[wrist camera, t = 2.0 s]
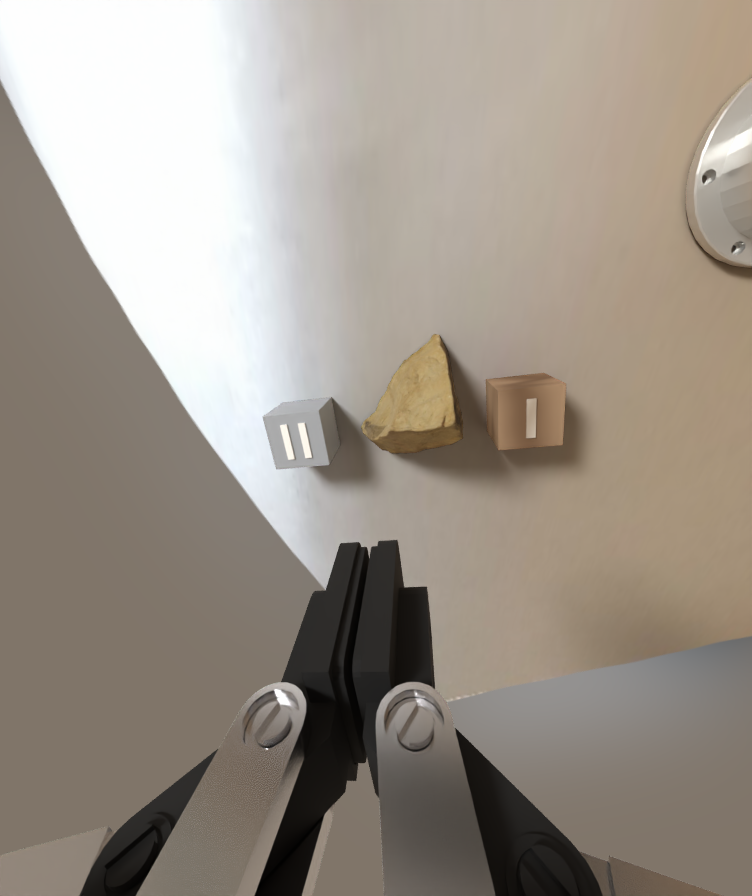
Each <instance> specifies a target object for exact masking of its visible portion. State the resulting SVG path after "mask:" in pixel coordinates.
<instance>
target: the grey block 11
mask: <svg viewBox="0 0 752 896" xmlns="http://www.w3.org/2000/svg"><path fill="white" fill-rule="evenodd" d="M263 420H264V424H265V428H266V432H267V436H268V439H269V443H270V447H271V451H272V455H273V459H274V462H275V466H276V469H288V468H299V467H311V466H323V465H330V463H331V461H332V459H333V458H334V456H335V454H336V452H337V450H338V448H339V447H340V440H339V435H338V430H337V424H336V419H335V413H334V408H333V402H332V397H328V398H319V399H310V400H301V401H293V402H284V403H281V404H280V405H279V406H277V407H276V408H274V409H273V410H271V411H270V412H269V413H267V414H266V415H264V416H263Z"/></svg>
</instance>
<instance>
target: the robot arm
mask: <svg viewBox="0 0 752 896" xmlns="http://www.w3.org/2000/svg"><path fill="white" fill-rule="evenodd" d="M686 211H687V217H688V222H689V226H690V228H691V230H692V232H693V235H694V237H695V239H696V240H697V241H698V243H699V244H700V245H701V247H702V248H703V249H704V250H705V251H706V252H707V253H709V254H710V255H711V256H713V257H714V258H715V259H717V260H719V261H722V262H724V263H727V264H729V265H733V266H740V267H746V268H749V267H752V78H750V79H749V80H748V81H747V82H746V83H744V84H743V85H742V86H741V87H740V88H739V89H738V90H737V91H736V92H735V93H734V94H733V95H732V97H731V98H730V99H729V100H728V101H727V102H726V103H725V104H724V105H723V107H722V108H721V109H720V111H719V112H718V114H717V115H716V116H715V118H714V119H713V121H712V122H711V123H710V125H709V126H708V128H707V130H706V132H705V134H704V136H703V138H702V140H701V142H700V143H699V145H698V147H697V150H696V153H695V156H694V158H693V161H692V164H691V167H690V170H689V176H688V181H687V186H686ZM366 758H368V762H369V767H370V771H371V776H372V780H373V784H374V789H375V793H376V795H377V796H378V797H379V805H380V825H381V845H382V865H383V883H384V884H383V885H384V896H722V895H720V894H717V893H714V892H711V891H708V890H705V889H703V888H699V887H697V886H694V885H691V884H688V883H685V882H682V881H680V880H677V879H674V878H671V877H668V876H666V875H663V874H660V873H657V872H654V871H651V870H648V869H645V868H643V867H640V866H637V865H634V864H631V863H628V862H626V861H623V860H620V859H617V858H614V857H611V856H609V857H608V861H605V860H602V859H600V858H597V857H594V856H591V855H588V854H586V853H583V852H580V851H578V850H577V849H576V847H575V846H574V845H573V844H572V843H571V841H569V839H568V838H567V837H565V836H564V835H563V834H562V833H561V832H560V831H559V830H558V829H557V828H556V827H555V826H554V825H553V824H552V823H551V822H550V821H549V820H548V819H547V818H546V817H545V816H544V815H543V814H542V813H541V812H540V811H539V810H538V809H537V808H536V807H535V806H534V805H533V804H532V803H531V802H530V801H529V800H528V799H527V798H526V797H525V796H524V795H523V794H522V793H521V792H520V791H519V790H518V789H517V788H516V787H515V786H514V785H513V784H512V783H511V782H510V781H509V780H507V778H506V777H505V776H503V774H502V773H501V772H499V770H497V769H496V768H495V767H494V766H493V765H492V764H491V763H490V762H489V761H488V760H487V759H486V758H485V757H484V756H483V755H482V754H481V753H480V752H479V751H478V750H477V749H476V748H475V747H474V746H473V745H472V744H471V743H470V742H469V741H468V740H467V739H466V738H465V737H464V736H463V735H462V734H461V733H460V732H459V731H458V730H457V729H456V728H455V727H454V723H453V719H452V714H451V712H450V709H449V707H448V704H447V702H446V700H445V699H444V698H443V697H442V695H441V694H440V693H439V692H438V691H437V690H435V681H434V666H433V650H432V635H431V623H430V612H429V602H428V592H427V587H406V588H404V583H403V576H402V568H401V561H400V554H399V546H398V541H397V540H390V541H379V542H378V546H374V547H371V553H370V559H369V555H368V550H367V547H361V545H360V543H359V542H355V543H341V544H340V546H339V549H338V552H337V555H336V559H335V562H334V565H333V569H332V572H331V575H330V578H329V582H328V585H327V588H326V591H315V592H314V593H313V594H312V596H311V599H310V601H309V604H308V607H307V610H306V613H305V616H304V619H303V621H302V624H301V628H300V630H299V633H298V636H297V639H296V641H295V644H294V647H293V650H292V653H291V656H290V659H289V661H288V665H287V667H286V670H285V673H284V676H283V679H282V681H281V682H280V683H274V684H271V685H268V686H266V687H264V688H262V689H261V690H259V691H257V692H256V693H255V694H254V695H253V696H252V697H251V698H250V699H249V700H247V702H246V703H245V704H244V706H243V707H242V709H241V710H240V711H239V713H238V715H237V717H236V718H235V720H234V722H233V724H232V726H231V727H230V729H229V731H228V733H227V735H226V736H225V738H224V740H223V742H222V744H221V745H220V747H219V749H217V750H216V751H215V752H213V753H212V754H211V755H210V756H208V757H207V758H206V759H205V760H203V761H202V762H201V763H200V764H198V765H197V766H196V767H194V768H193V769H192V770H191V771H190V772H188V773H187V774H186V775H184V776H183V777H182V778H181V779H179V780H178V781H177V782H176V783H174V784H173V785H172V786H171V787H169V788H168V789H167V790H165V791H164V792H163V793H162V794H160V795H159V796H158V797H157V798H156V799H154V800H153V801H152V802H150V803H149V804H148V805H146V806H145V807H144V808H143V809H141V810H140V811H139V812H138V813H136V814H135V815H134V816H133V817H131V818H130V819H129V820H128V821H127V822H126V823H125V824H124V825H123V826H122V827H121V828H120V829H118V830H115V831H112V830H111V828H110V827H109V826H107V827H104V828H100V829H96V830H92V831H89V832H85V833H81V834H77V835H74V836H70V837H66V838H62V839H58V840H55V841H51V842H47V843H43V844H40V845H36V846H32V847H28V848H24V849H21V850H17V851H13V852H9V853H6V854H4V855H1V856H0V896H312V895H313V891H314V887H315V884H316V880H317V876H318V872H319V868H320V865H321V861H322V857H323V853H324V849H325V846H326V842H327V838H328V834H329V830H330V826H331V823H332V819H333V813H334V806H335V802H336V801H337V800H338V799H339V798H340V797H341V796H342V795H343V793H345V789H346V782H347V780H348V781H356V778H357V769H358V763H365V762H366Z"/></svg>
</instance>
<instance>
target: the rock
mask: <svg viewBox="0 0 752 896" xmlns="http://www.w3.org/2000/svg"><path fill="white" fill-rule="evenodd" d="M361 428H362V431H363V434H364V435H366V436H367V437H368V438H369V439H370V440H371V441H372V442H374V443H375V444H376V445H377V446H378V447H379V448H381V449H382V450H387V451H389V452H390V453H417V452H420V451H422V450H424V449H431V448H437V447H441V446H445V445H451V444H453V443H455V442H457V441H459V440H461V439H462V438H463V432H462V430H463V421H462V414H461V410H460V407H459V402H458V398H457V396H456V394H455V392H454V382H453V378H452V372H451V364H450V360H449V355H448V351H447V349H446V347H445V345H444V343H443V342H442V341H441V338H440V335H436V334H434V335H433V336H432V337H431V339H430V341H429V342H428V343H427V344H425V345H424V346H423V347H422V348H420V349H419V350H418V351H417V352H415V353H414V354H412V355H411V356H410V357H409V358H408V359H407V360H404V361H403V363H402V365H401V366H400V368H399V369H398V371H397V372H396V373H395V374H394V376H393V377H392V380H391V382H390V383H389V385H388V387H387V391H386V392H385V394H384V396H382V397H381V399H380V402H379V404H378V407H377V409H376V412H374V413H373V414H372V415H371V416H370V417H369V418H367V419H366V420H365V421H364V422H363V425H362V426H361Z"/></svg>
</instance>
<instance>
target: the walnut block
mask: <svg viewBox="0 0 752 896" xmlns="http://www.w3.org/2000/svg"><path fill="white" fill-rule="evenodd" d="M565 396H566V383H564V382H562V381H560V380H558V379H555V378H553V377H551V376H549V375H547V374H545V373H539V374H530V375H521V376H512V377H503V378H494V379H486V405H487V432H488V434H489V435H490V437H491V439H492V440H493V442H494V444H495V445H496V447H497V449H498V450H509V449H521V448H532V447H544V446H556V445H563V430H564V413H565Z"/></svg>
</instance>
